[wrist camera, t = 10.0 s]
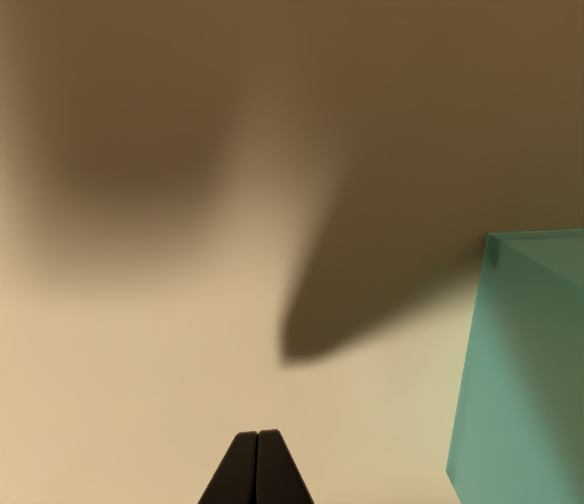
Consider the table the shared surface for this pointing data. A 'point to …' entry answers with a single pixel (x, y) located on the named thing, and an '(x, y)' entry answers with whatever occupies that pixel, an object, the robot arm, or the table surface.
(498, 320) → the tray
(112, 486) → the table surface
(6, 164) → the table surface
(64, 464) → the table surface
